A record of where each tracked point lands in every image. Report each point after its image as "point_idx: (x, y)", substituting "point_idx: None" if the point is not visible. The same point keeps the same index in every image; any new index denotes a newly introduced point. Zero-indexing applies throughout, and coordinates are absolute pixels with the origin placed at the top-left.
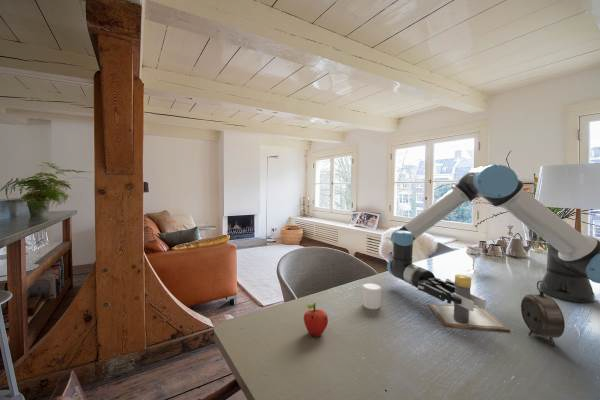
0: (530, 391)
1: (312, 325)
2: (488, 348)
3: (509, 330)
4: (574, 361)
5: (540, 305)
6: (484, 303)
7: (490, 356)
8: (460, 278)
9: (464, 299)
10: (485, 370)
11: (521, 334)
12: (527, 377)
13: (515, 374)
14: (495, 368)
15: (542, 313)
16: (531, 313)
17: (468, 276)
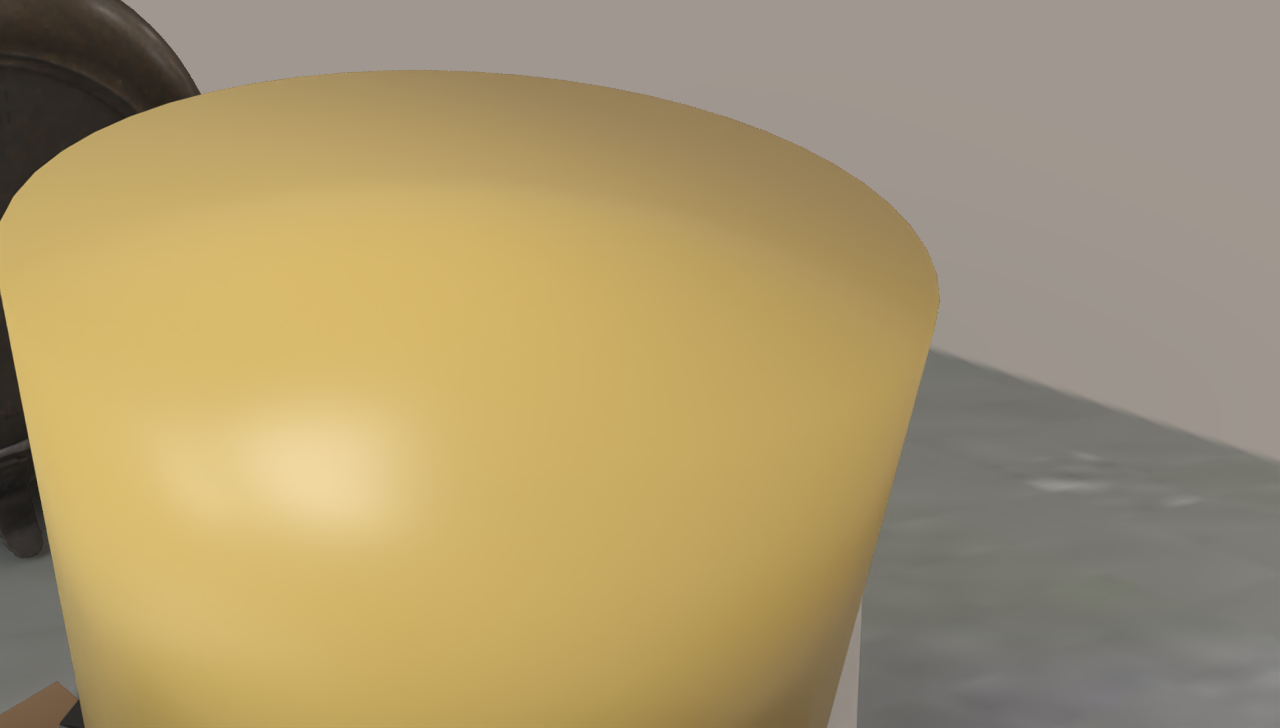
0: (1076, 408)
1: None
2: (858, 709)
3: (63, 699)
4: None
5: (113, 14)
6: None
7: (990, 647)
8: (901, 218)
9: (856, 681)
10: (1249, 602)
11: (46, 612)
12: (940, 439)
13: (1004, 482)
14: (1118, 570)
15: (185, 95)
16: None
17: (116, 131)
